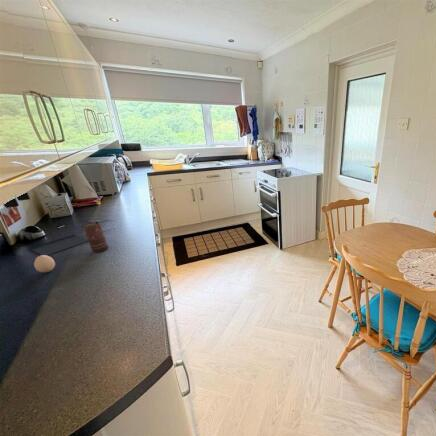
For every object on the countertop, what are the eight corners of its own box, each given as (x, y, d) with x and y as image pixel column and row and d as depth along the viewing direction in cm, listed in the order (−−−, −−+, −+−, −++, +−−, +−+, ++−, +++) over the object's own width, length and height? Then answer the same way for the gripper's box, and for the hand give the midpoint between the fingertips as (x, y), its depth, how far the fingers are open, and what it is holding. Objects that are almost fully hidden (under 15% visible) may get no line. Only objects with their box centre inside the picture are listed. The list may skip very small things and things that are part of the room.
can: (110, 245, 117) (102, 220, 112) (105, 251, 111) (96, 225, 106) (96, 247, 115) (86, 221, 110) (90, 253, 110) (80, 226, 104)
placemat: (44, 256, 107) (44, 256, 107) (29, 249, 113) (29, 248, 113) (89, 240, 122) (89, 240, 122) (74, 235, 129) (73, 234, 128)
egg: (55, 266, 100) (48, 250, 97) (59, 270, 97) (52, 254, 94) (36, 272, 95) (29, 256, 93) (40, 277, 92) (32, 261, 90)
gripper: (-6, 154, 84) (15, 199, 91) (-36, 159, 70) (-9, 211, 77) (23, 153, 88) (41, 196, 94) (-1, 157, 74) (22, 208, 80)
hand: (18, 203), depth 85 cm, fingers open, 9 cm apart
